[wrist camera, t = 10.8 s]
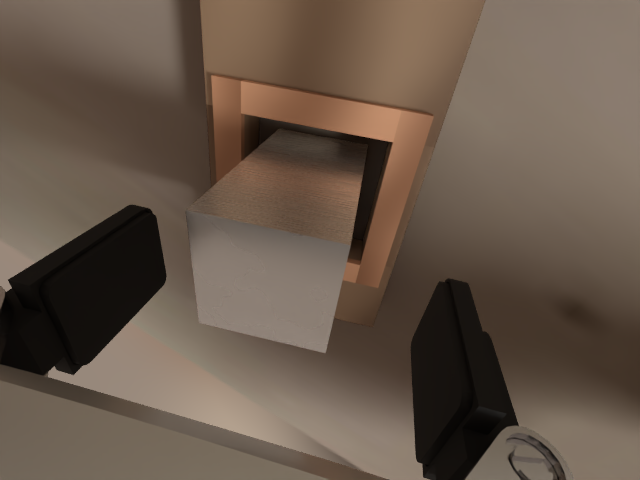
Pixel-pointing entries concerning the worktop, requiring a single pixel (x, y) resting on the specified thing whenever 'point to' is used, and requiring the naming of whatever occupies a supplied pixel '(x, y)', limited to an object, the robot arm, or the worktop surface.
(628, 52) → the worktop surface
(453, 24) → the tan flat board
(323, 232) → the grey square block
